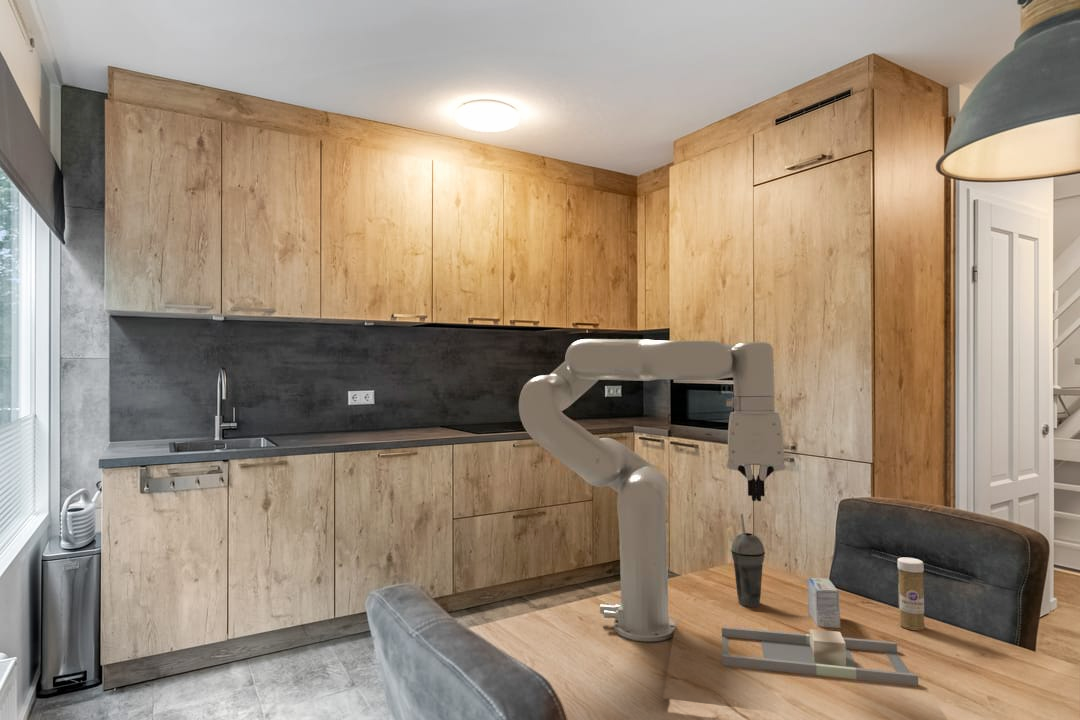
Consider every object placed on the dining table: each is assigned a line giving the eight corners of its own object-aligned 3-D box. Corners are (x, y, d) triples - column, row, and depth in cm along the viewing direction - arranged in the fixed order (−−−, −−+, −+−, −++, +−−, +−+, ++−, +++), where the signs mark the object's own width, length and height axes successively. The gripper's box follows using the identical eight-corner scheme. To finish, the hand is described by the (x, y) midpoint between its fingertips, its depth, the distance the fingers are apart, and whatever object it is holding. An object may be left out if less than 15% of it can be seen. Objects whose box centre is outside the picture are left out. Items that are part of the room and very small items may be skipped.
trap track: (722, 673, 108) (722, 655, 108) (722, 642, 120) (721, 626, 120) (918, 695, 100) (918, 676, 100) (896, 659, 112) (895, 642, 112)
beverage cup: (771, 609, 137) (768, 517, 137) (737, 609, 137) (735, 517, 137) (759, 597, 144) (757, 510, 144) (728, 597, 144) (726, 510, 144)
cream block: (814, 664, 108) (813, 640, 108) (810, 651, 112) (809, 629, 112) (846, 667, 106) (845, 643, 106) (840, 654, 111) (840, 631, 111)
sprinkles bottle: (905, 631, 124) (903, 562, 124) (895, 622, 129) (893, 556, 129) (929, 631, 124) (927, 563, 124) (918, 622, 128) (916, 556, 128)
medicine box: (841, 635, 123) (840, 591, 123) (816, 634, 123) (815, 589, 124) (830, 620, 130) (829, 578, 131) (808, 618, 131) (807, 577, 131)
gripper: (714, 406, 120) (716, 502, 120) (797, 406, 116) (800, 505, 116) (714, 404, 128) (716, 494, 127) (792, 404, 123) (795, 497, 123)
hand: (756, 499), depth 121 cm, fingers closed
